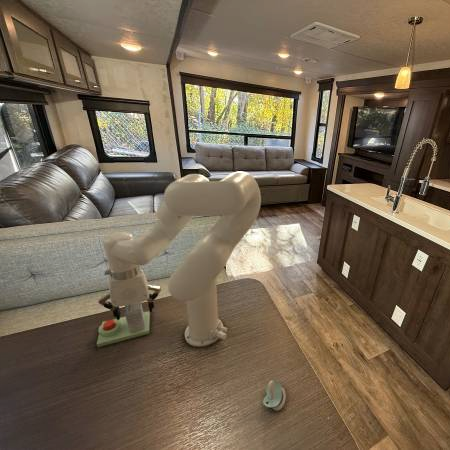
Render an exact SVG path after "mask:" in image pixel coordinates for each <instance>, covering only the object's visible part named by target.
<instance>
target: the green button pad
mask: <svg viewBox="0 0 450 450" xmlns="http://www.w3.org/2000/svg"><path fill="white" fill-rule="evenodd" d="M143 313H144V322H145V328H143V329H140V330H138V331H135V332H131V333H130V331H129V327H128V324H127V320H126V316H123V317H122V316H121V317H120V319H119V320H117V318H114V319H112V320H114V321H115V327H114V328H113V329H111V330H107V331H106V330H104V326H103V324H104V323H105V322H106V321H107V320H104V321H102V322H101V325H100V326H98V329H97V330H98V337H97V341H96V346H97V348H101V347H104V346H108V345H112V344H116V343H119V342H123V341H127V340H131V339H135V338H138V337H142V336H146V335H149V334H150V323H151V322H150V317H151V312H150V311H149V310H148V311H143Z"/></svg>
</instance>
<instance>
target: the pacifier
mask: <svg viewBox="0 0 450 450" xmlns="http://www.w3.org/2000/svg"><path fill="white" fill-rule="evenodd" d="M265 393H266V395H265V396H264V398H263V400H262V405H263V406H264V407H266V408H270V409H273V410H274V411H280V410H281V409H283V408H284V406H285V403H286V400H287V393H286V390H285V388H284V387H283V386H282V385H281V383H280V382H279V381H278V380H276V379H271V380H270V381H268V382H267V383H266V387H265Z"/></svg>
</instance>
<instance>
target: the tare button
mask: <svg viewBox="0 0 450 450" xmlns="http://www.w3.org/2000/svg"><path fill="white" fill-rule="evenodd" d="M105 321H106V322H105ZM105 321H104V322H105V323H104V324H103V326H104V330H106V331H107V330H111V329H113V328H114V327H115V321H114V320H113V319H108V320H105Z"/></svg>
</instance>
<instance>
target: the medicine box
mask: <svg viewBox="0 0 450 450" xmlns="http://www.w3.org/2000/svg"><path fill="white" fill-rule="evenodd" d="M124 315H125V316H124V317H126V320H127V324H128V327H129V331H130V333H131V332H135V331H138V330H140V329H143V328H145V322H144V308H143V305H142V302H138V303H134V304H129V305H124Z"/></svg>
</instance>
